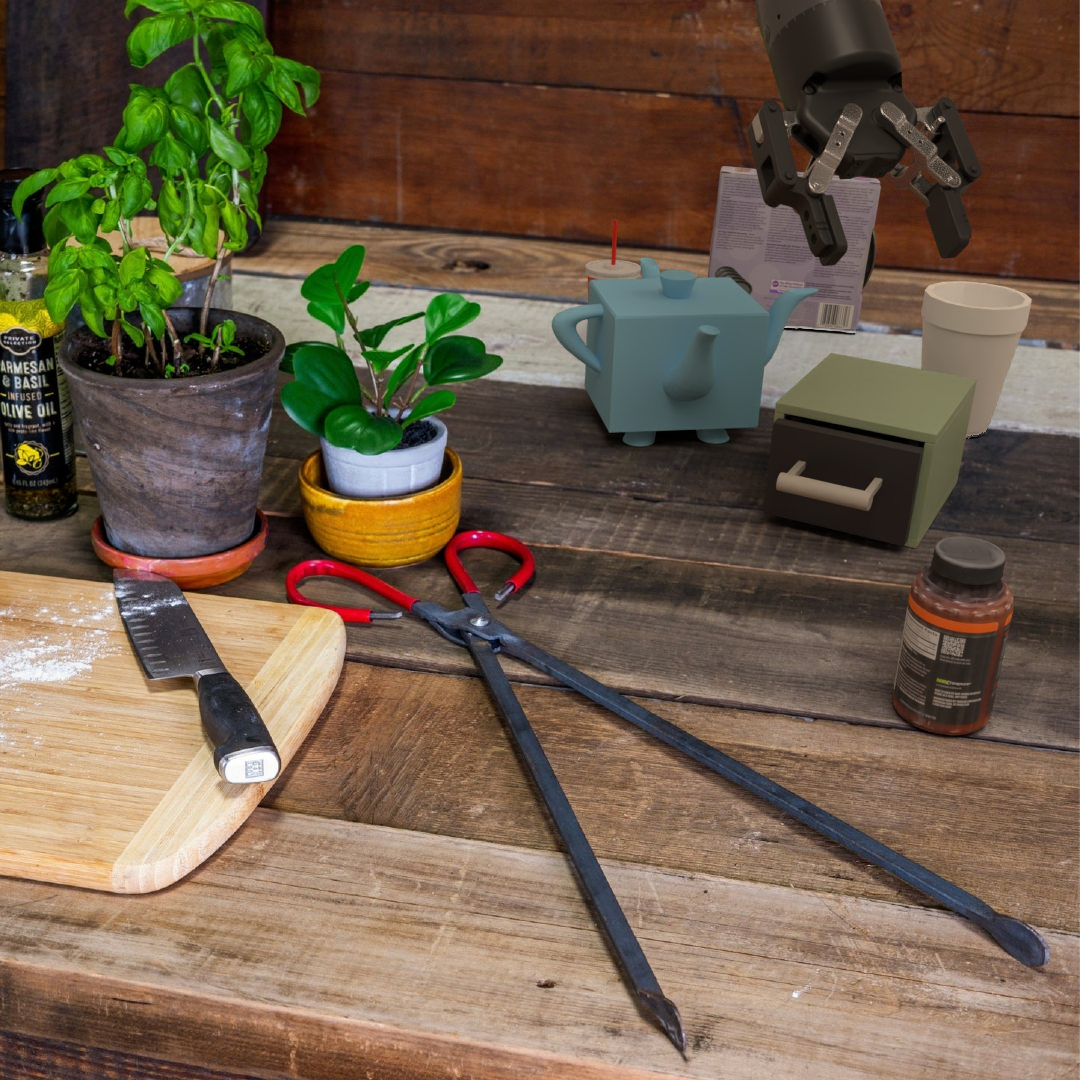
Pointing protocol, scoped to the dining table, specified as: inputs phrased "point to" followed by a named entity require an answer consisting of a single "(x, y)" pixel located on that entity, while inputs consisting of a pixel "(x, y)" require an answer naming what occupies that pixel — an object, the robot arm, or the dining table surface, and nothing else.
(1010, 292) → the foam cup
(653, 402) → the teakettle
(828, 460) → the drawer
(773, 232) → the cake pan box
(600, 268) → the beverage cup
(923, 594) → the supplement bottle
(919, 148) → the robot arm
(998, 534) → the dining table surface
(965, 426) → the cabinet
